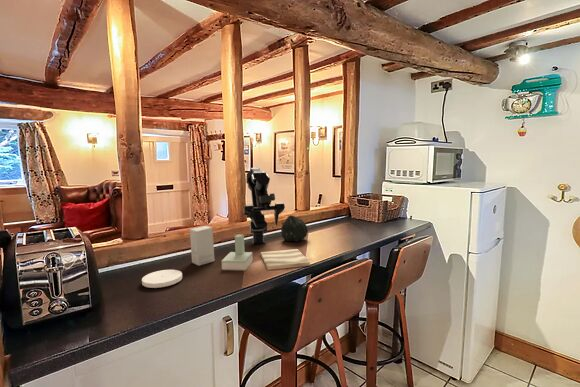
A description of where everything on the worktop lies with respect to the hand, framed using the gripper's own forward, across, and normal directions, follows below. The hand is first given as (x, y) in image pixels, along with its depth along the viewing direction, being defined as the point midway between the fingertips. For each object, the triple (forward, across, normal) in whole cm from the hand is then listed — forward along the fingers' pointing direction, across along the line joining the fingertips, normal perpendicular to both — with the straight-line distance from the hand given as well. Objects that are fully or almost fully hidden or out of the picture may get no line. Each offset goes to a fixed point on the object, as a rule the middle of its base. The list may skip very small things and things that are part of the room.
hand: (266, 225), depth 141 cm
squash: (-1, +20, +30) cm, 36 cm away
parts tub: (+16, -14, +3) cm, 21 cm away
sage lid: (+13, -14, +1) cm, 19 cm away
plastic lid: (+20, -44, -4) cm, 48 cm away
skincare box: (+10, -29, +11) cm, 32 cm away
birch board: (+16, +6, +3) cm, 17 cm away
